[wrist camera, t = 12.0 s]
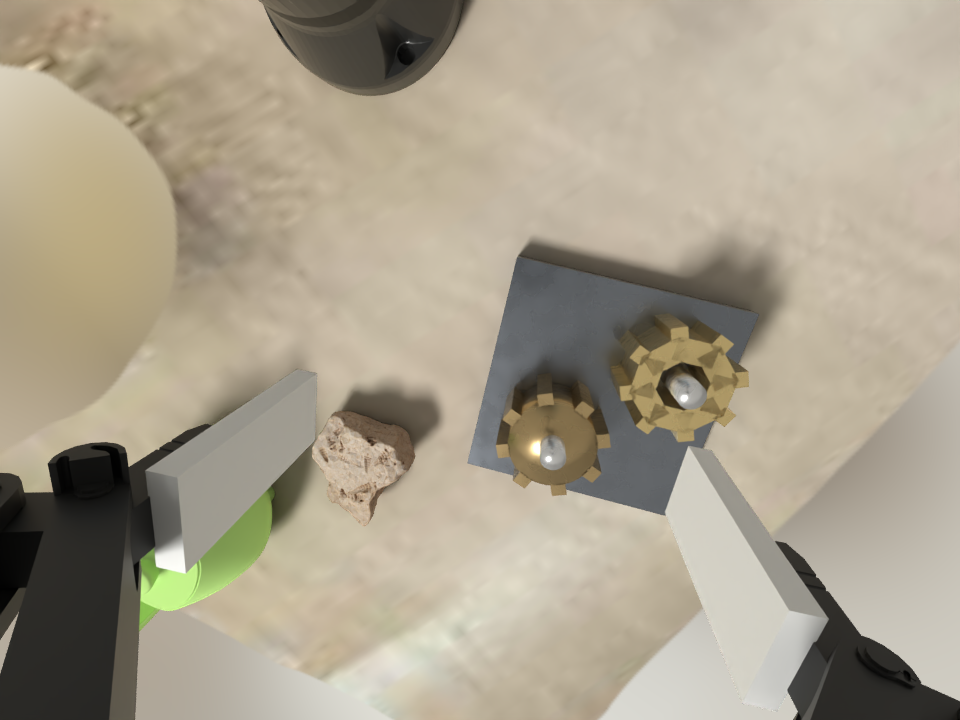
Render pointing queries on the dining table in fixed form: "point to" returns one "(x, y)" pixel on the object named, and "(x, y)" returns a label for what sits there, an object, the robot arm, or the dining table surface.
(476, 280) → the dining table surface
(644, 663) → the dining table surface
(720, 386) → the planet gear
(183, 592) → the teapot
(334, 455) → the stone
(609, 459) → the plate
